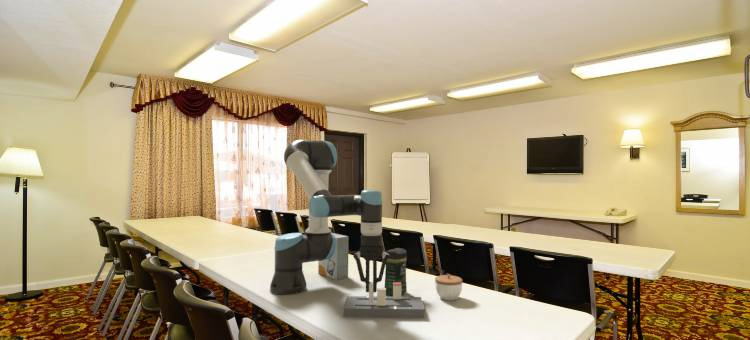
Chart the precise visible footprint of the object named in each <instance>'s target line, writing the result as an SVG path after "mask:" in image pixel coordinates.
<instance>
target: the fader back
mask: <svg viewBox="0 0 750 340" xmlns="http://www.w3.org/2000/svg"><path fill="white" fill-rule="evenodd" d="M392 297H393V299H401V297H402V295H401V282H393V296H392Z"/></svg>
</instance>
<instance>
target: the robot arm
mask: <svg viewBox="0 0 750 340" xmlns="http://www.w3.org/2000/svg"><path fill="white" fill-rule="evenodd" d="M284 150H285V151H284V153H283V160H284V164H285V166H286V167H287V168H288V170H289V171H290V172H292V173H293V174H294V176H295V178H296V179H297V181H298V183H299V184H300V185H301V187H302V189H303V190H304V192H305V194H306V196H307V197H308V204H307V205H308V206H307V209H308V227H307V228H306V229H305V231H304V235H303V233H301V232H291V233H285V234H282V235H279V236H278V237H277V238H276V239H274V240H275V242H274V273H273V277H272V279H271V282H270V285H269V286H270V287H269V290H270V292H271V293H272V294H276V295H292V294H293V295H294V294H295V295H296V294H298V293H302V292H304V291H306V290H307V281H306V277H305V275H304V271H303V264H304V263H306V264H307V263H311V262H318V261H323V260H326V259H330V258H331V257H332V256H333V255H334V253H335V249H336V240H335V236H334V235H333V234H331V233H332V229H331V228H329V225H328V224H329V218H332V217H343V216H345V217H346V216H360V233H361V235H360V247H359V249H358V251H357V252H354V253H353V256H352V257H353V259H354V260H355V263H356V267H357V271H358V276H359V280H360V282H363V283H365V293H368V296H369V303H373V296H374V293H377V288H378V287H377V285H378V283H381V282H382V281H383V278H384V277H383V276H384V273H385V270H386V261H387V259H388V258H389V254H388V253H386V251H384V248H383V234H382V233H383V221H382V220H383V196H382V192H381V190H376V189H375V190H373V189H372V190H371V189H370V190H369V189H368V190H364V189H363V190H362V191H361V193H360V194H359V195H358V194H348V195H347V194H345V195H338V194H337V195H332V194H331V192H330V190H329V176H330V173H331V172H333V168H334V167H335V166H336V165H337V162H338V152H337V148H336V147H335V145H334V143H332V142H330V141H327V140H311V139H296V140H294V141H292V142H291V143H290V144H288V145H287V147H286V149H284ZM361 256H362V258H363V259H364V260H365V274H364V269H363V266H362V262H361ZM381 256H382V257H381ZM380 257H381V258H382V261H381V266H380V270H379V272H378V271H377V268H378V266H377V265H378V264H377V263H378V260H379V259H380ZM371 261H372V279H373V280H372V281H370V262H371ZM378 273H379V275H378ZM377 276H378V277H377Z"/></svg>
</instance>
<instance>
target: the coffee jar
mask: <svg viewBox="0 0 750 340" xmlns="http://www.w3.org/2000/svg"><path fill="white" fill-rule="evenodd" d="M385 252H386V253H388V254H389V258H388V259H387V261H386V264H385V270H384V273H385V274H384V275H385V277H384V287H383V288H386V296H388V297H393V282H401V296H402V295H405V294H406V293H407V287H408V285H407V258H408V255H407V250H406V249H405V248H402V247H401V248H400V247H396V248H393V249H387V250H386V251H385Z"/></svg>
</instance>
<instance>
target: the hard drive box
mask: <svg viewBox="0 0 750 340" xmlns="http://www.w3.org/2000/svg"><path fill="white" fill-rule="evenodd" d="M331 234H333V235H334V236H335V240H336V249H335V253H334V255H333V256H332V257H331V258H330V259H326V260H323V261H317V262H318V265H317V266H318V269H317V270H318V274H320V275H322V276H325V277H328V278H330V279H333V280H336V281H337V280H343V279H345V278H349V235H348V236H347V235H345V234H344V235H343V234H339V233H333V232H331Z"/></svg>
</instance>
